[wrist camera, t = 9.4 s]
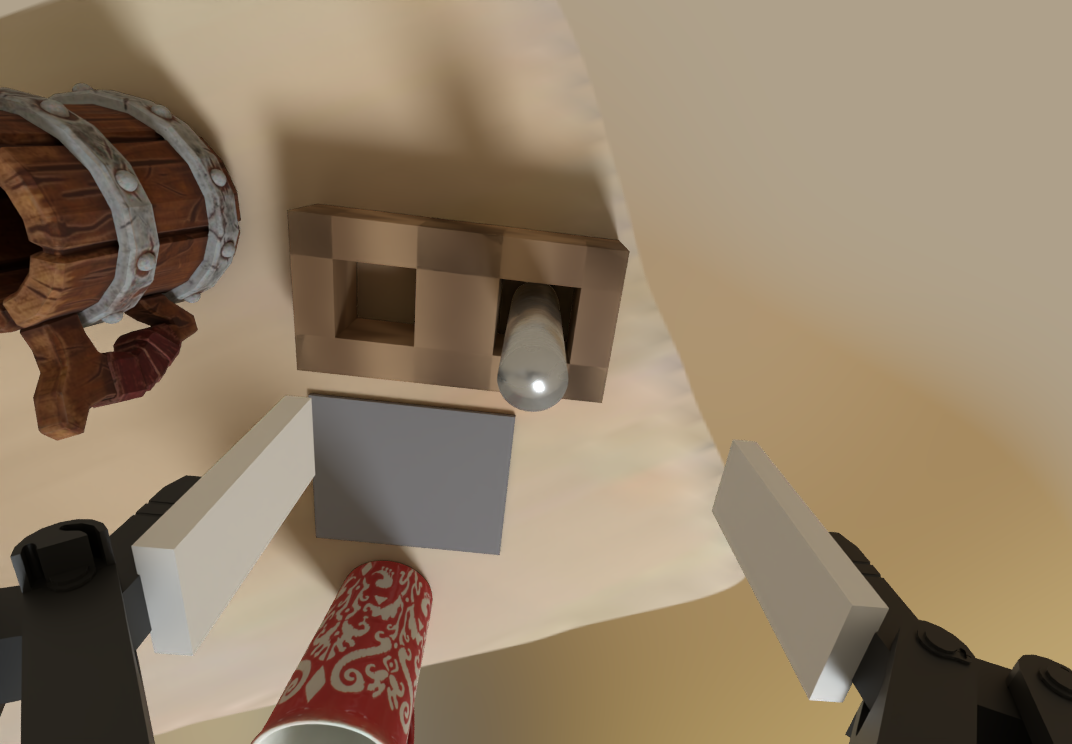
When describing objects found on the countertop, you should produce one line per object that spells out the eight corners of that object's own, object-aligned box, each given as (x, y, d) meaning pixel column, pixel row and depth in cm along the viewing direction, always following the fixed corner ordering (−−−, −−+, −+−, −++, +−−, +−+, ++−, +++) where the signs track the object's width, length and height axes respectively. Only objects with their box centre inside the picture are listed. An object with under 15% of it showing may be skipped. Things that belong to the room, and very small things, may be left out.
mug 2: (311, 562, 41) (213, 739, 29) (420, 538, 40) (367, 710, 28) (372, 672, 46) (310, 865, 33) (471, 652, 45) (445, 843, 32)
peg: (509, 323, 34) (493, 407, 23) (514, 277, 33) (501, 341, 21) (555, 329, 34) (562, 415, 23) (562, 284, 33) (573, 351, 22)
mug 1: (179, 40, 28) (-103, 37, 15) (311, 284, 35) (199, 421, 22) (-11, 106, 29) (-421, 156, 16) (156, 328, 36) (-34, 482, 24)
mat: (317, 534, 40) (316, 537, 40) (310, 393, 36) (308, 395, 35) (499, 552, 41) (499, 554, 40) (515, 415, 36) (515, 417, 36)
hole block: (323, 346, 34) (297, 369, 31) (317, 203, 31) (287, 210, 27) (595, 376, 35) (601, 402, 31) (618, 240, 32) (629, 251, 28)
